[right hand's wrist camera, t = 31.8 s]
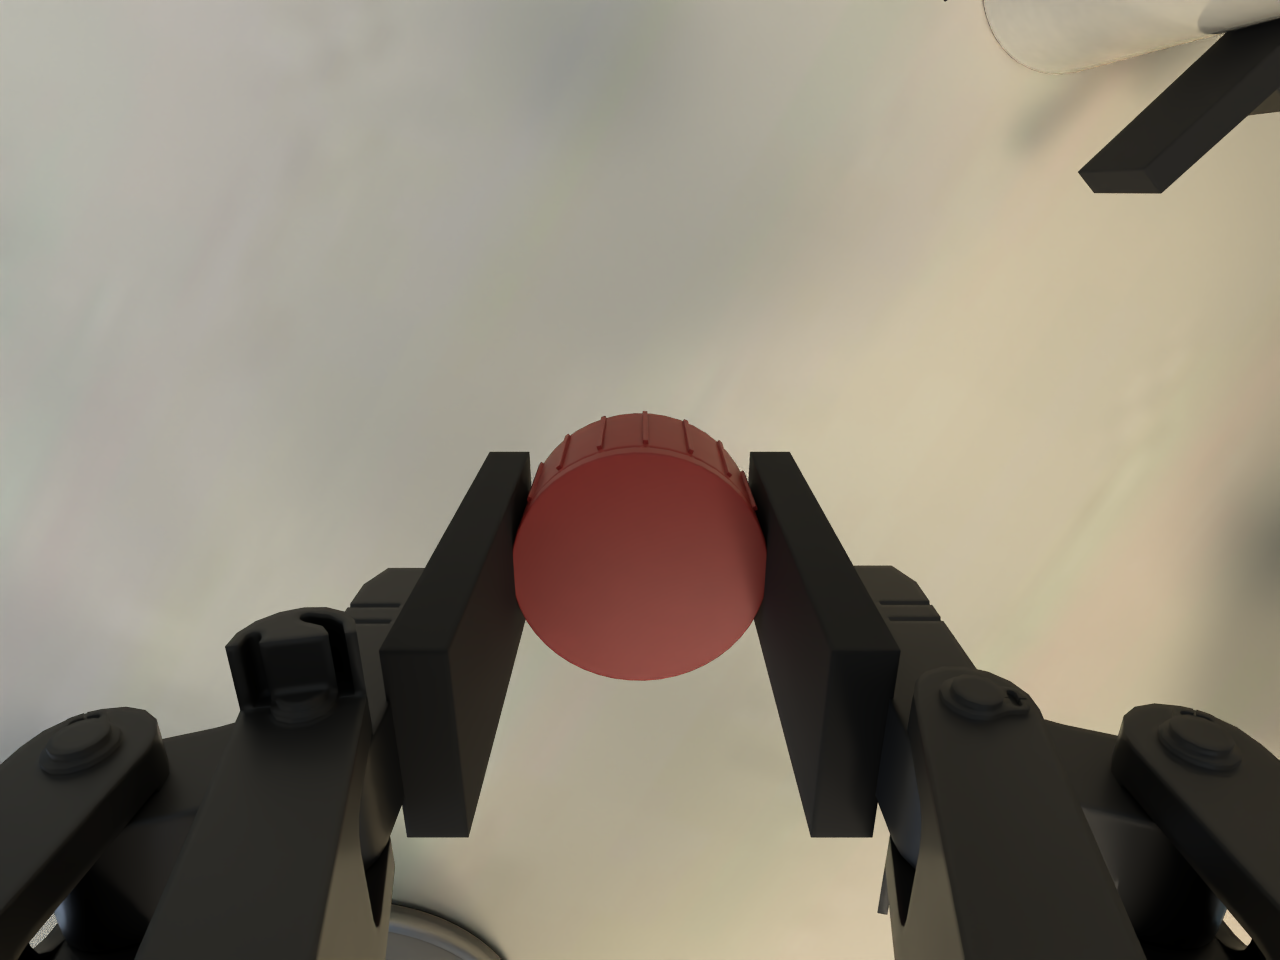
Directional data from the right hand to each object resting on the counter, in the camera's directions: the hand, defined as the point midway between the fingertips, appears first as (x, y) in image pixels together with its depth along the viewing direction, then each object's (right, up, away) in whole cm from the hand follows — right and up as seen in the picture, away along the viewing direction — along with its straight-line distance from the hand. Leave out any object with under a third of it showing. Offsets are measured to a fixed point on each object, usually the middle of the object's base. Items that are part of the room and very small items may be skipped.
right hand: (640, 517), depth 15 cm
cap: (0, -1, -2) cm, 2 cm away
